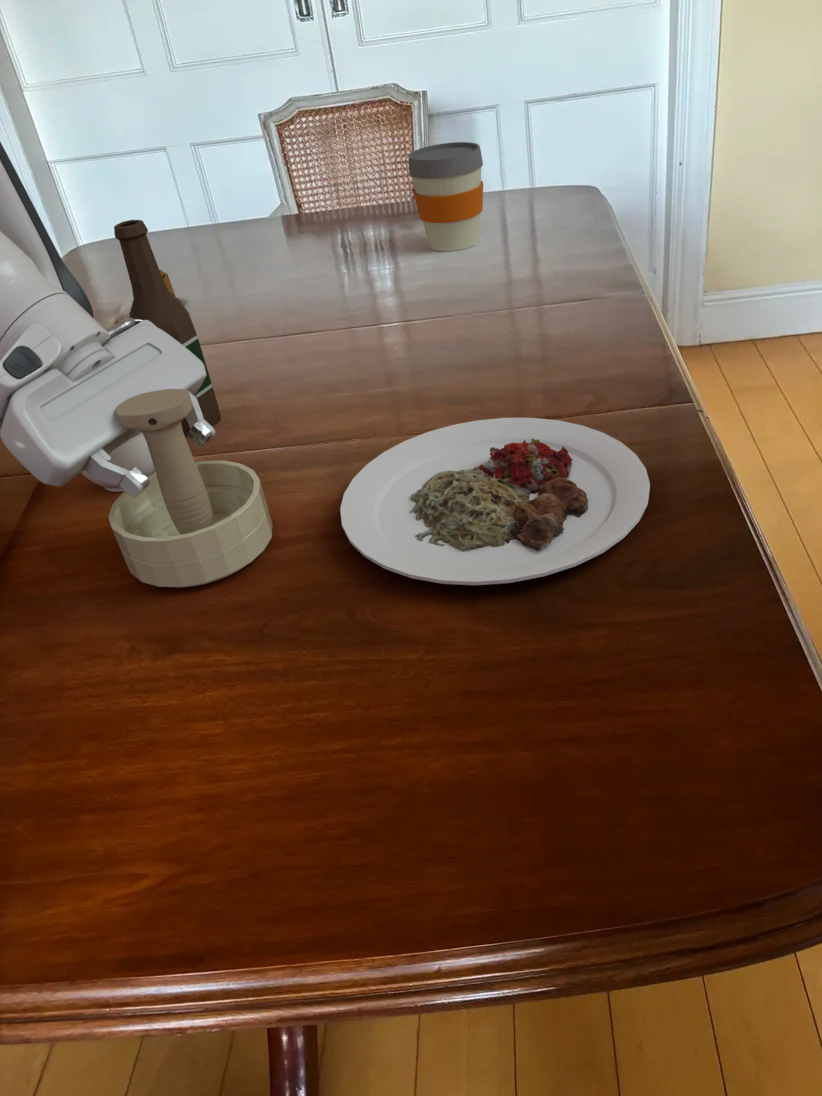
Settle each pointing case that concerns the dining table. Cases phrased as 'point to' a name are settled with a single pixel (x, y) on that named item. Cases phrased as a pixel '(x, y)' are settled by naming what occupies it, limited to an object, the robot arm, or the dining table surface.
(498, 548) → the plated food
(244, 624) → the dining table surface
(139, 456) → the trinket box
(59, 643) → the dining table surface
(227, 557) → the bowl
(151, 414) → the handle
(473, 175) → the reusable coffee cup
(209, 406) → the beer bottle
